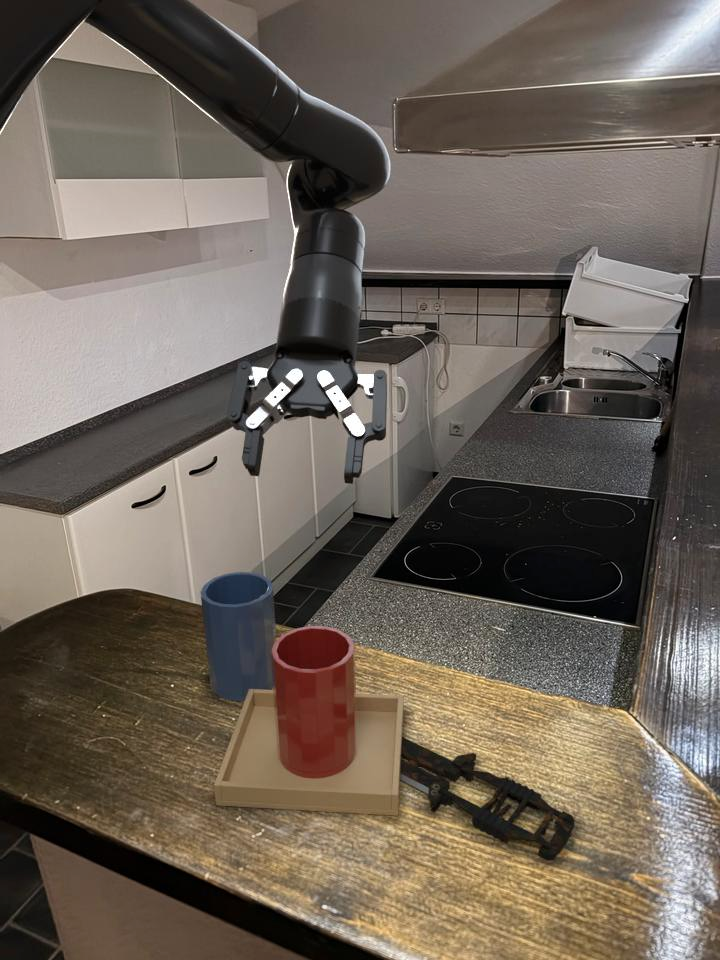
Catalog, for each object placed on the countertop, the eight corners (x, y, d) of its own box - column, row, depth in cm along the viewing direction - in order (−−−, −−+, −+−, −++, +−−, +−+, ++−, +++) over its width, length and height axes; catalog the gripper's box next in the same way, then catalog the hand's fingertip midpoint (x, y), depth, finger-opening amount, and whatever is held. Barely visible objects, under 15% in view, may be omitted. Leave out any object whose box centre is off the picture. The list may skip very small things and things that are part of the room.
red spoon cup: (271, 776, 61) (263, 670, 57) (285, 723, 67) (280, 624, 63) (352, 781, 60) (350, 674, 57) (359, 726, 66) (358, 627, 63)
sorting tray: (215, 805, 59) (213, 785, 58) (250, 707, 70) (248, 688, 69) (397, 816, 57) (398, 795, 57) (403, 713, 69) (403, 695, 68)
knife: (287, 725, 68) (286, 712, 68) (337, 691, 73) (337, 678, 72) (538, 883, 52) (540, 868, 52) (583, 827, 57) (584, 813, 56)
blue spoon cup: (202, 699, 71) (192, 605, 67) (220, 659, 77) (211, 571, 73) (270, 702, 70) (264, 607, 67) (283, 661, 76) (278, 573, 73)
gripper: (239, 289, 69) (212, 457, 64) (395, 298, 68) (380, 469, 63) (253, 330, 76) (230, 484, 71) (395, 339, 75) (381, 496, 70)
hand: (300, 477), depth 67 cm, fingers open, 8 cm apart
